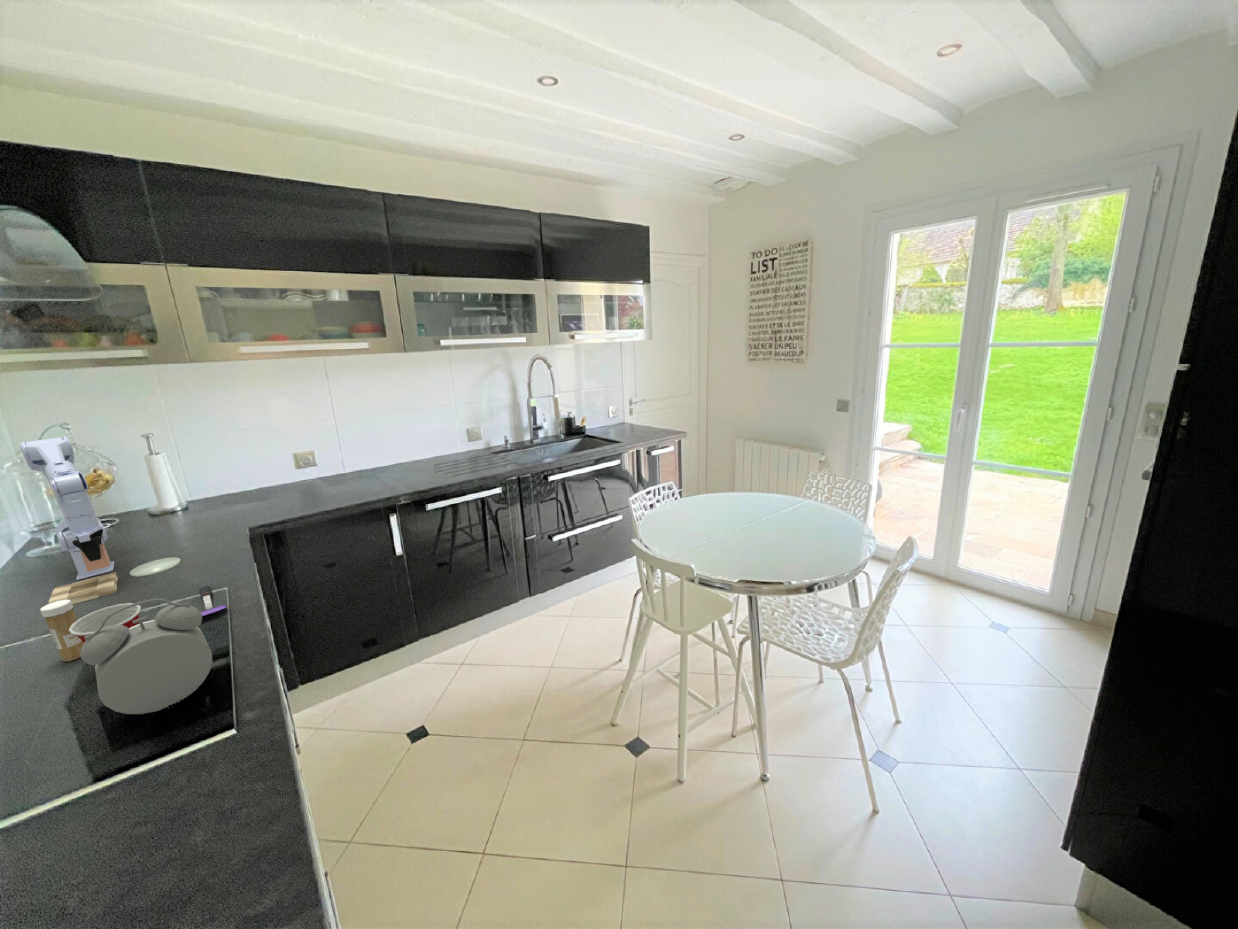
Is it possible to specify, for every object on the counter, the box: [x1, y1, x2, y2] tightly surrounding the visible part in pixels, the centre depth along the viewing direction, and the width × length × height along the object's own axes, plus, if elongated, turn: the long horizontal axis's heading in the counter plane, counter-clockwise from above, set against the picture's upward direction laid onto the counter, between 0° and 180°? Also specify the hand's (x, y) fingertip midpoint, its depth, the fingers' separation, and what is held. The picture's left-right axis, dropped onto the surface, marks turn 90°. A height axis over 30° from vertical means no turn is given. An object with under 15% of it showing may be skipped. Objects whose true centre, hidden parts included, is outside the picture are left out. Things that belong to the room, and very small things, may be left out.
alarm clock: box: [80, 597, 213, 715], centre depth 89 cm, size 16×9×22 cm, turn 139°
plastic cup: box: [69, 602, 142, 643], centre depth 103 cm, size 11×11×12 cm
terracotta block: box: [81, 543, 111, 572], centre depth 139 cm, size 4×4×6 cm
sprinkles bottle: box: [39, 600, 84, 662], centre depth 107 cm, size 5×5×14 cm
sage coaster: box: [129, 556, 181, 578], centre depth 153 cm, size 12×12×1 cm
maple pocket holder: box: [47, 571, 119, 606], centre depth 138 cm, size 13×13×2 cm
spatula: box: [199, 585, 227, 617], centre depth 129 cm, size 24×7×2 cm, turn 43°
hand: (96, 557), depth 140 cm, fingers closed on terracotta block, 4 cm apart
